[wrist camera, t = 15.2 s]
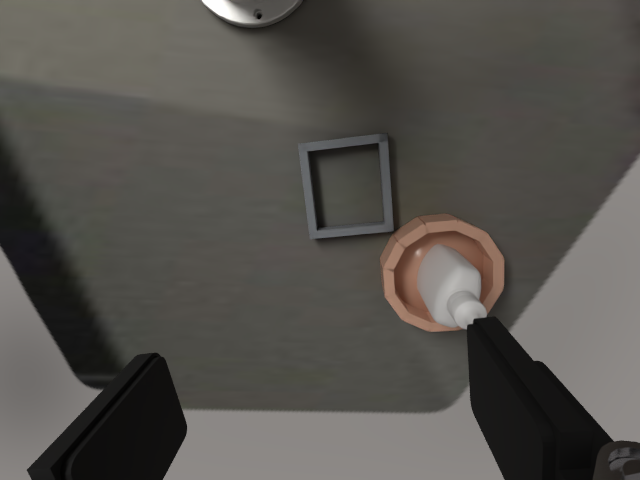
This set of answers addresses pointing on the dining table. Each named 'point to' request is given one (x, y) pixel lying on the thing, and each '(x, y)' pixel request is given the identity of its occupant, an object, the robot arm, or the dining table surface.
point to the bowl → (411, 249)
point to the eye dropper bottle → (450, 287)
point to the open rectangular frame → (385, 187)
